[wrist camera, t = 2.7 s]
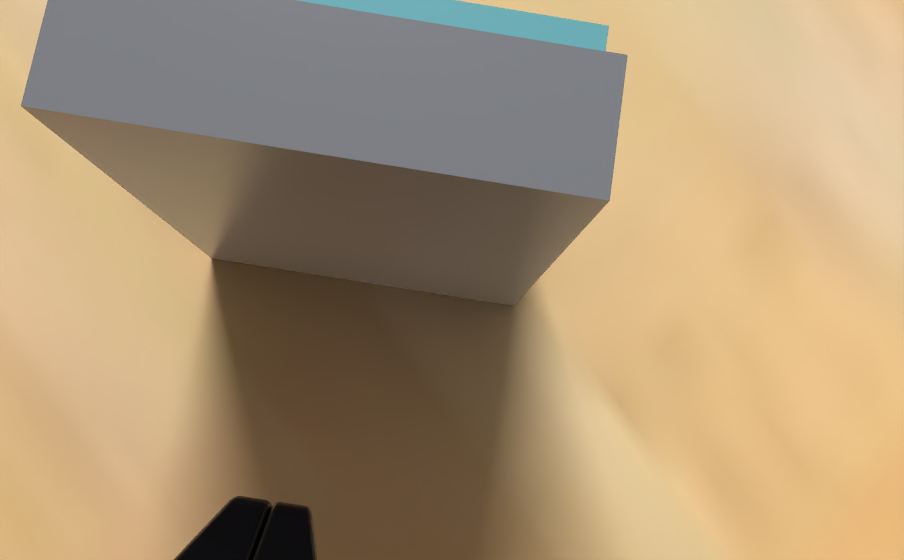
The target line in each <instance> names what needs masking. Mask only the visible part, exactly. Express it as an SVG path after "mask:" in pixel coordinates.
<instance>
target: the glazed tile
mask: <svg viewBox="0 0 904 560" xmlns="http://www.w3.org/2000/svg"><path fill="white" fill-rule="evenodd" d="M608 28H609V26H607V25H601V24H595V23H589V22H583V21H577V20H571V19H565V18H559V17H553V16H547V15H541V14H535V13H528V12H522V11H516V10H510V9H504V8H498V7H492V6H486V5H480V4H474V3H468V2H462V1H456V0H48V2H47V6H46V10H45V14H44V18H43V22H42V25H41V29H40V33H39V37H38V41H37V45H36V49H35V53H34V57H33V61H32V65H31V69H30V73H29V76H28V80H27V84H26V88H25V92H24V96H23V100H22V104H21V106H22V107H23V108H24V109H25V110H27V111H28V112H29V113H30V114H32V115H33V116H34V117H35V118H37V119H38V120H39V121H40V122H42V123H43V124H44V125H45V126H47V127H48V128H49V129H50V130H52V131H53V132H54V133H55V134H57V135H58V136H59V137H60V138H62V139H63V140H64V141H65V142H67V143H68V144H69V145H70V146H72V147H73V148H74V149H75V150H77V151H78V152H79V153H80V154H82V155H83V156H84V157H85V158H87V159H88V160H89V161H90V162H92V163H93V164H94V165H95V166H97V167H98V168H99V169H100V170H102V171H103V172H104V173H105V174H107V175H108V176H109V177H110V178H112V179H113V180H114V181H115V182H117V183H118V184H119V185H120V186H122V187H123V188H124V189H125V190H127V191H128V192H129V193H130V194H132V195H133V196H134V197H136V198H137V199H138V200H139V201H141V202H142V203H143V204H144V205H146V206H147V207H148V208H149V209H151V210H152V211H153V212H154V213H156V214H157V215H158V216H159V217H161V218H162V219H163V220H164V221H166V222H167V223H168V224H169V225H171V226H172V227H173V228H174V229H176V230H177V231H178V232H179V233H181V234H182V235H183V236H184V237H186V238H187V239H188V240H189V241H191V242H192V243H193V244H194V245H196V246H197V247H198V248H199V249H201V250H202V251H203V252H204V253H206V254H207V255H208V256H209V257H211V258H213V259H219V260H226V261H232V262H238V263H245V264H251V265H257V266H264V267H270V268H276V269H283V270H289V271H296V272H302V273H308V274H315V275H321V276H327V277H334V278H340V279H346V280H353V281H359V282H365V283H372V284H378V285H384V286H391V287H397V288H403V289H410V290H416V291H422V292H429V293H435V294H441V295H448V296H454V297H461V298H467V299H473V300H480V301H486V302H492V303H499V304H505V305H511V306H514V305H515V304H516V303H517V302H518V301H519V299H520V298H521V297H522V296H523V295H524V294H525V293H526V292H527V291H528V290H529V288H530V287H531V286H532V285H533V284H534V283H535V282H536V281H537V280H538V279H539V278H540V276H541V275H542V274H543V273H544V272H545V271H546V270H547V269H548V268H549V267H550V265H551V264H552V263H553V262H554V261H555V260H556V259H557V258H558V257H559V256H560V255H561V253H562V252H563V251H564V250H565V249H566V248H567V247H568V246H569V245H570V244H571V242H572V241H573V240H574V239H575V238H576V237H577V236H578V235H579V234H580V233H581V232H582V230H583V229H584V228H585V227H586V226H587V225H588V224H589V223H590V222H591V221H592V219H593V218H594V217H595V216H596V215H597V214H598V213H599V212H600V211H601V210H602V209H603V207H604V206H605V205H606V204H607V203H608V202H609V201H610V193H611V185H612V177H613V169H614V161H615V153H616V145H617V136H618V128H619V120H620V112H621V104H622V96H623V87H624V79H625V71H626V63H627V55H624V54H618V53H612V52H606V43H607V36H608Z"/></svg>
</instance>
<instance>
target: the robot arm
mask: <svg viewBox="0 0 904 560" xmlns="http://www.w3.org/2000/svg"><path fill="white" fill-rule="evenodd" d="M174 560H317V554H316V546H315V538H314V530H313V522H312V515H311V511H310V509H309V508H308V507H307V506H302V505H295V504H289V503H282V502H278V503H275V504H274V505H273V506H272V505H271V503H270V502H269V501H267V500H263V499H256V498H250V497H243V496H237V497H235V498H233V499H231V500H230V501H229V502H228V503H227V504H226V505H225V506H224V507H223V508H222V509H221V510H220V511H219V512H218V513H217V514H216V515H215V517H214V518H213V519H212V520H211V521H210V522H209V523H208V524H207V525H206V526H205V527H204V528H203V529H202V530H201V531H200V532H199V533H198V535H197V536H196V537H195V538H194V539H193V540H192V541H191V542H190V543H189V544H188V545H187V546H186V547H185V548H184V549H183V550H182V552H181V553H180V554H179V555H178V556H177V557H176V558H175V559H174Z"/></svg>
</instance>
